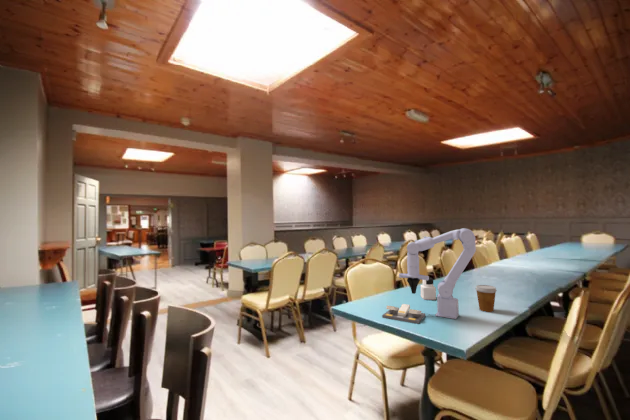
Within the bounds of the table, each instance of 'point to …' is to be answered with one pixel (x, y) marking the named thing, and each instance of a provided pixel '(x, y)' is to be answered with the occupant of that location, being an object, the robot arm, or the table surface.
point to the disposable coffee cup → (486, 297)
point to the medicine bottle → (428, 290)
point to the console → (408, 318)
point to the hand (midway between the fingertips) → (413, 293)
